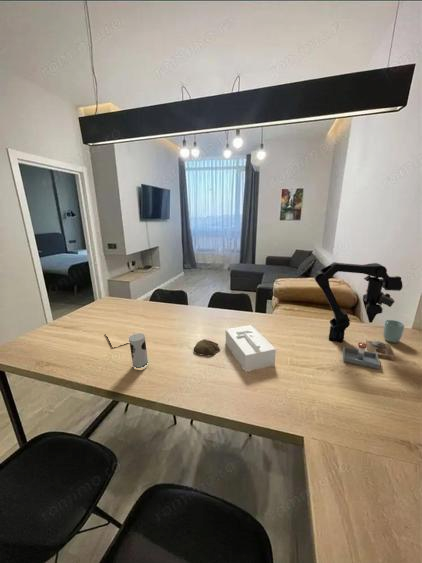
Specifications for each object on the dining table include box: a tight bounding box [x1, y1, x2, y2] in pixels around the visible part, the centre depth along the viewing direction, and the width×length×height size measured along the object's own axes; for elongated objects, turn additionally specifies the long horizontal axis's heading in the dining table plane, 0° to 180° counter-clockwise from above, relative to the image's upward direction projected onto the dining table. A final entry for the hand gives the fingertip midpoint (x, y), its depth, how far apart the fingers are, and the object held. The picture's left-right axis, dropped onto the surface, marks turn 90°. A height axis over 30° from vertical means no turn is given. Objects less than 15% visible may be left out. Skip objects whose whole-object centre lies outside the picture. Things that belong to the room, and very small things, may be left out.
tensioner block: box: [365, 340, 396, 361], centre depth 117 cm, size 10×12×3 cm
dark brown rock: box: [193, 338, 221, 356], centre depth 123 cm, size 13×12×5 cm
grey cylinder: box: [129, 333, 149, 368], centre depth 109 cm, size 7×7×15 cm
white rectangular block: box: [225, 324, 277, 372], centre depth 117 cm, size 14×25×11 cm, turn 17°
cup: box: [382, 319, 405, 344], centre depth 124 cm, size 8×8×10 cm
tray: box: [342, 346, 381, 371], centre depth 110 cm, size 14×10×2 cm
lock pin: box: [357, 342, 367, 360], centre depth 109 cm, size 3×3×8 cm
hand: (369, 318), depth 122 cm, fingers open, 9 cm apart
